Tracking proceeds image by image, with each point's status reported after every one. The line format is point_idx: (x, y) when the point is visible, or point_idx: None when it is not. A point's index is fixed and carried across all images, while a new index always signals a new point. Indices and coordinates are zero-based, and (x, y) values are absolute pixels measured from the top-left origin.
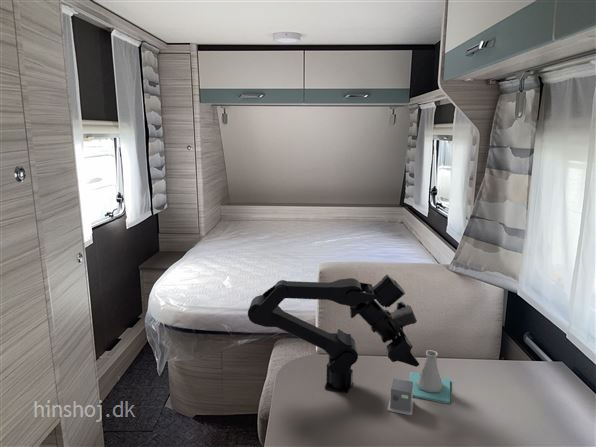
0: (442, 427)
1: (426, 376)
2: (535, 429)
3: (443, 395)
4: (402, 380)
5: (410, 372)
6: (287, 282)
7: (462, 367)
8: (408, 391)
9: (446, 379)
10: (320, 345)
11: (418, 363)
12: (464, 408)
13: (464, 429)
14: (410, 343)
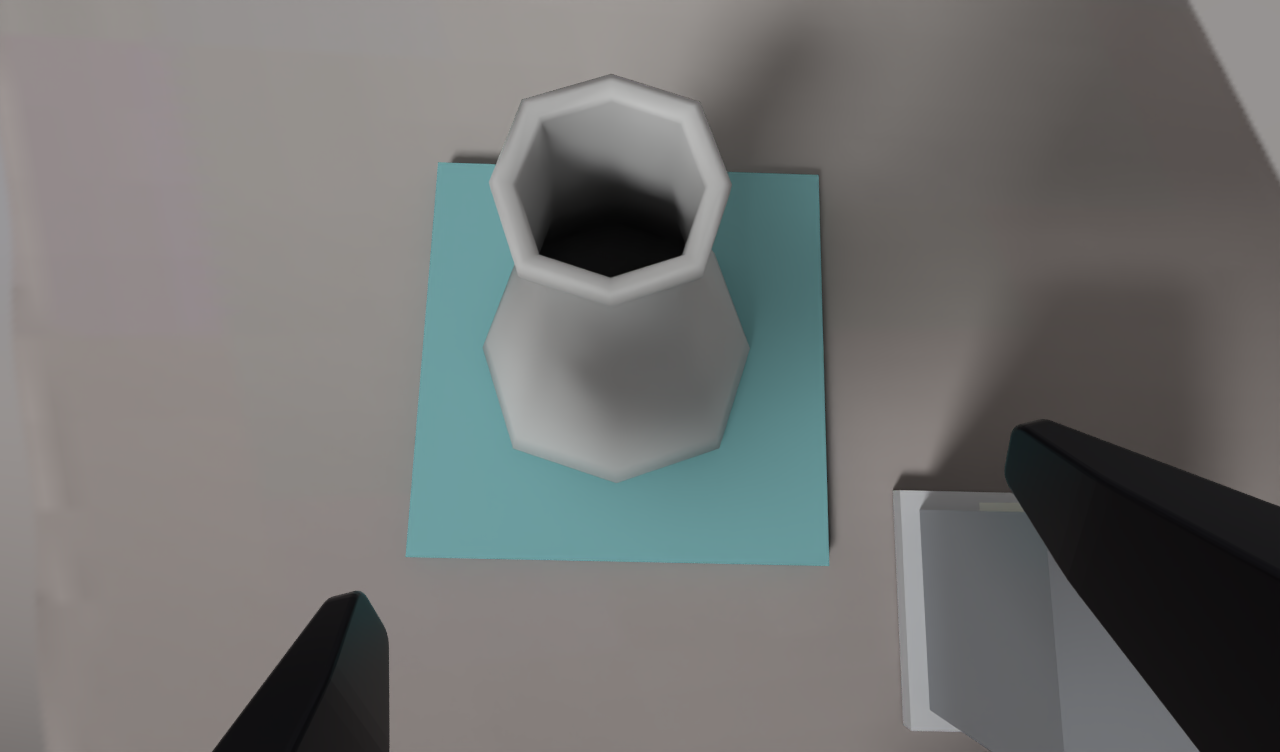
0: (1151, 246)
1: (710, 354)
2: None
3: (740, 224)
4: (1068, 660)
5: (410, 552)
6: None
7: (163, 53)
8: None
9: (452, 193)
10: None
11: (1073, 433)
12: (833, 77)
13: (1103, 93)
14: (333, 663)
